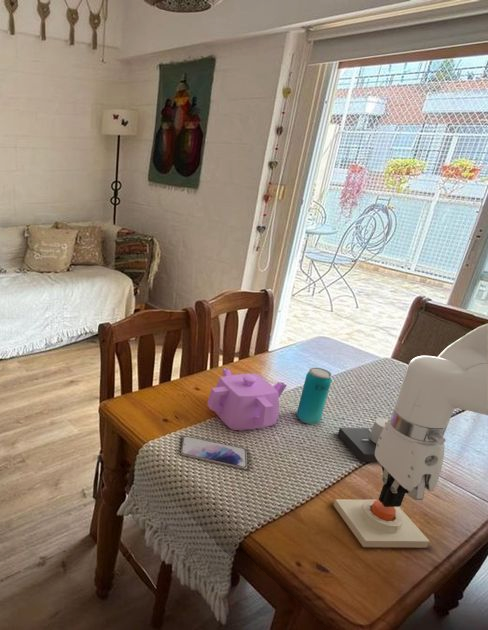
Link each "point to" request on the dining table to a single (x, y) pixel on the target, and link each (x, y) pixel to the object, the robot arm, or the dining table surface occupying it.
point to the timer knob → (377, 429)
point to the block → (379, 526)
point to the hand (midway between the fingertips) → (389, 503)
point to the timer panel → (359, 443)
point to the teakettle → (245, 401)
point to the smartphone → (214, 452)
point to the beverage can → (314, 395)
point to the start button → (383, 511)
